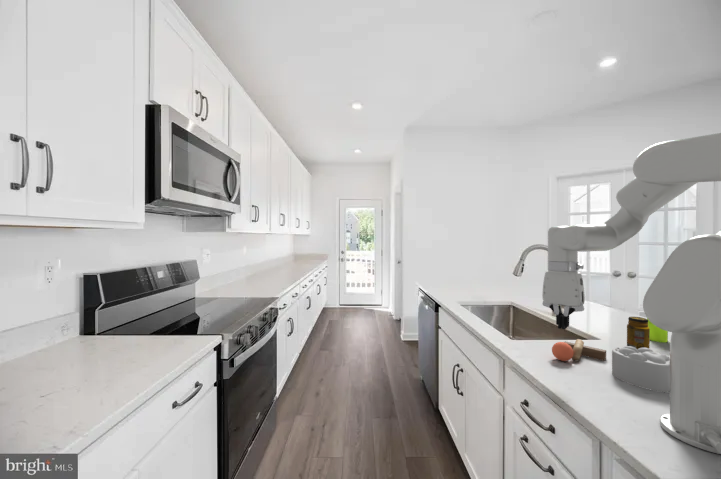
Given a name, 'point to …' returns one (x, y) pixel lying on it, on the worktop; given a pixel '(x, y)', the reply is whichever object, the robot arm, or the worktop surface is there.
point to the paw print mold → (642, 368)
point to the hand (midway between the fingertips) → (562, 328)
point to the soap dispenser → (657, 333)
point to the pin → (577, 350)
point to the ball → (562, 351)
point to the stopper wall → (591, 352)
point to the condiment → (638, 332)
